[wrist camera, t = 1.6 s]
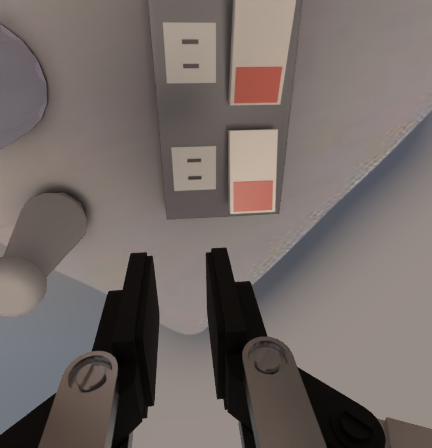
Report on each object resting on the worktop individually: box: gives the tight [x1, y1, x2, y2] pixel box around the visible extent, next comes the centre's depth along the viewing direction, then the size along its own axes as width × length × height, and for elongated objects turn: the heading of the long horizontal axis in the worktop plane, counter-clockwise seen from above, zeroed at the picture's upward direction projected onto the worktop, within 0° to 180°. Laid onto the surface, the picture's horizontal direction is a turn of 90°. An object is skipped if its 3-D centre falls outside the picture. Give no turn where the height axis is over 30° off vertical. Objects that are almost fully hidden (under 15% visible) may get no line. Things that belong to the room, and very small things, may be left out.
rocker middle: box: [228, 0, 296, 105], centre depth 23 cm, size 7×4×1 cm, turn 0°
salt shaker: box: [0, 192, 87, 317], centre depth 27 cm, size 6×6×13 cm
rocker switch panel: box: [148, 0, 302, 219], centre depth 26 cm, size 28×11×4 cm, turn 0°
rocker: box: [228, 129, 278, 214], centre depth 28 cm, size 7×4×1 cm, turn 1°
